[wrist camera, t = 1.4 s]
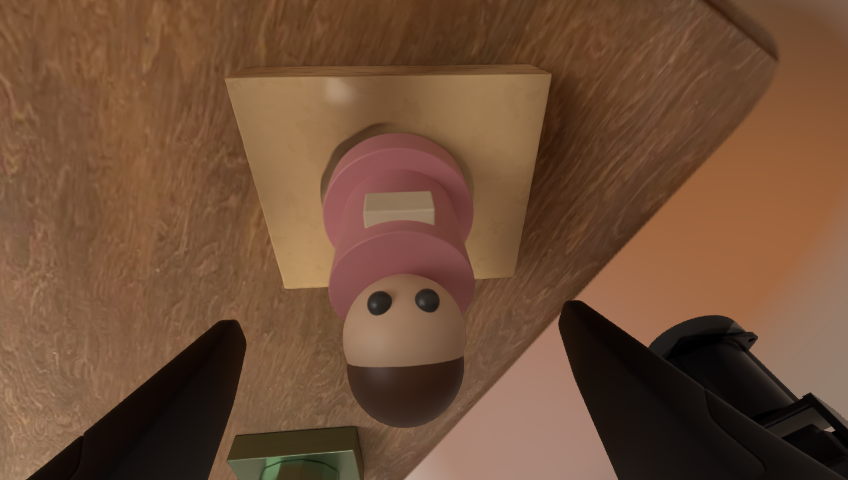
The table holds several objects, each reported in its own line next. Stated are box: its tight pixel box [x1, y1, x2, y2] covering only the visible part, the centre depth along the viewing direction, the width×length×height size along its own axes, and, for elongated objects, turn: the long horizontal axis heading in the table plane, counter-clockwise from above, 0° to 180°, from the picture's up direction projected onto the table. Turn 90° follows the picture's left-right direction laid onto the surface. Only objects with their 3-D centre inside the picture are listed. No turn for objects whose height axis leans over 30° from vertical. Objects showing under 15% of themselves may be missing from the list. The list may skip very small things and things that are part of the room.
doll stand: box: [225, 64, 552, 289], centre depth 17 cm, size 12×10×2 cm
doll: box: [323, 133, 475, 428], centre depth 12 cm, size 6×6×10 cm
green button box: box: [227, 427, 364, 480], centre depth 31 cm, size 10×8×4 cm
